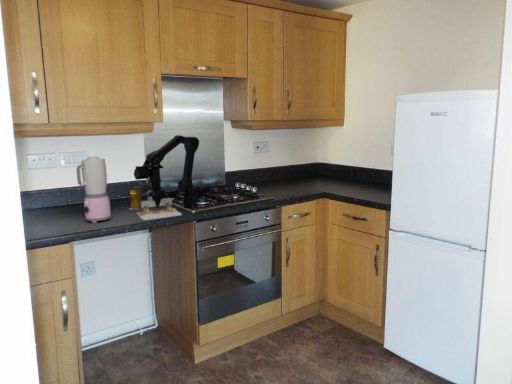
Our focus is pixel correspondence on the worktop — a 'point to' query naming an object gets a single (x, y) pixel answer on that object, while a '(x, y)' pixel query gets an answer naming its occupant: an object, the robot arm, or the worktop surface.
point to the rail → (152, 202)
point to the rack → (146, 210)
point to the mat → (160, 215)
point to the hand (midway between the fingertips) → (156, 206)
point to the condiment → (135, 198)
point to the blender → (94, 189)
